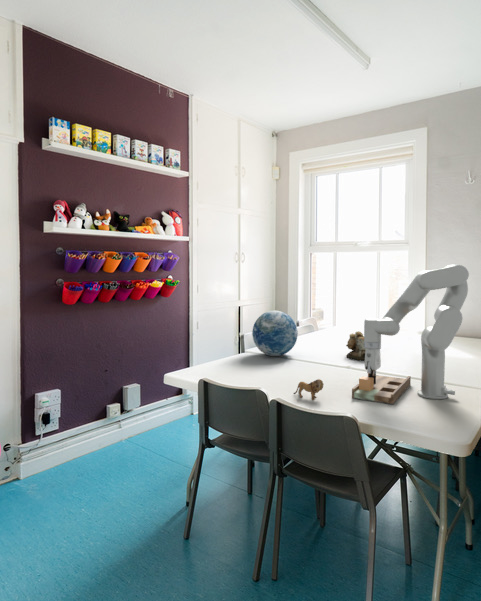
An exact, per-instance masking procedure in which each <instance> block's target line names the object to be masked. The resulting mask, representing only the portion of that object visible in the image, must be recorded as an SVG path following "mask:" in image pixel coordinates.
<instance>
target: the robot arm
mask: <svg viewBox="0 0 481 601" xmlns="http://www.w3.org/2000/svg"><path fill="white" fill-rule="evenodd" d="M469 276H470V273H469V270H468V268H467V267H466V266H463V265H462V264H449V265H447V266H445V267H443V268H438V269H431V270H426V269H425V270H422V271H419V272H418V273H417V275H416V276H415V277H414V278H413V279H412V280H411V283H410V284H409V285H408V286H407V288H406V289H405V291H403V293H402V294H401V295H400V297H398V299H397V300H396V301H395V302H394V304H392V305H391V307H390V308H389V309H388V310H387V312H386V313H385V315H384V316H383V318H382V319H379V318H378V317H377V318H376V317H375V318H374V317H368V318H365V319H364V323H363V325H364V326H363V327H364V328H363V332H364V333H363V336H364V348H365V349H366V350H365V361H364V369H365V371H366V372H367V373H366V374H367V377H372V378H374V384H376V375H377V370H379V369H380V368H381V364H382V363H381V362H382V361H381V360H382V359H381V349H382V335H384V336H389V337H390V336H391V337H392V336H395V335H398V334H399V332H400V328H401V326H400V323H401V322H402V320H403V319H404V318H405V317H406V316H407V314H409V313H410V312H412V311H414V310H415V309H417V308H418V307H419V306H420V305H421V303H422V302H423V300H424V299H425V298H426V296H427V295H428V294H429V293H430V291H435V290H442V289H446V291H444V292H445V293H444V294H443V297H442V299H441V300H440V302H439V305H438V306H437V308H436V309H435V311H434V315H433V317H434V320H435V322H434V324H433V325H429V326H427V327H425V328H424V329H423V330H422V333H421V336H420V337H421V338H420V340H421V341H420V343H421V376H420V377H421V383H420V384H421V386H420V387H421V389H419V390H418V391H417V395H418V396H419V397H422V398H424V399H428V400H429V399H430V400H445V399H448V397H449V395H450V396H451V395H452V396H455V395H456V390H453V389H452V388H451V389H450V388H447V387H446V385H445V370H446V368H445V365H446V364H445V363H446V350H447V349H448V348H449V347H450V345H451V343H452V342H453V340H454V339H455V337H456V334H457V333H458V331H459V329H460V327H461V326H462V323H463V314H462V312H461V309H462V308H463V305H464V303H465V302H466V299H467V296H468V292H469V287H468V281H467V280H468V279H469Z"/></svg>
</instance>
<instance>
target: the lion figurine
mask: <svg viewBox="0 0 481 601" xmlns="http://www.w3.org/2000/svg"><path fill="white" fill-rule="evenodd" d="M323 389H324V383H323V380H322V379H321V378H318V379H315V380H313V381H310V383H307V382H305V381H300V382H299V383H298V384H297V388H296V391H295V392H293V394H294V395H296V394H297V392H298V395H299V397H300V398H303V395H302V391H306V392H308V393H310V396H311V397H310V398H311V400H312V401H315V399H317V396H316V394H318V393H319V392H320V391H322V390H323Z"/></svg>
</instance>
